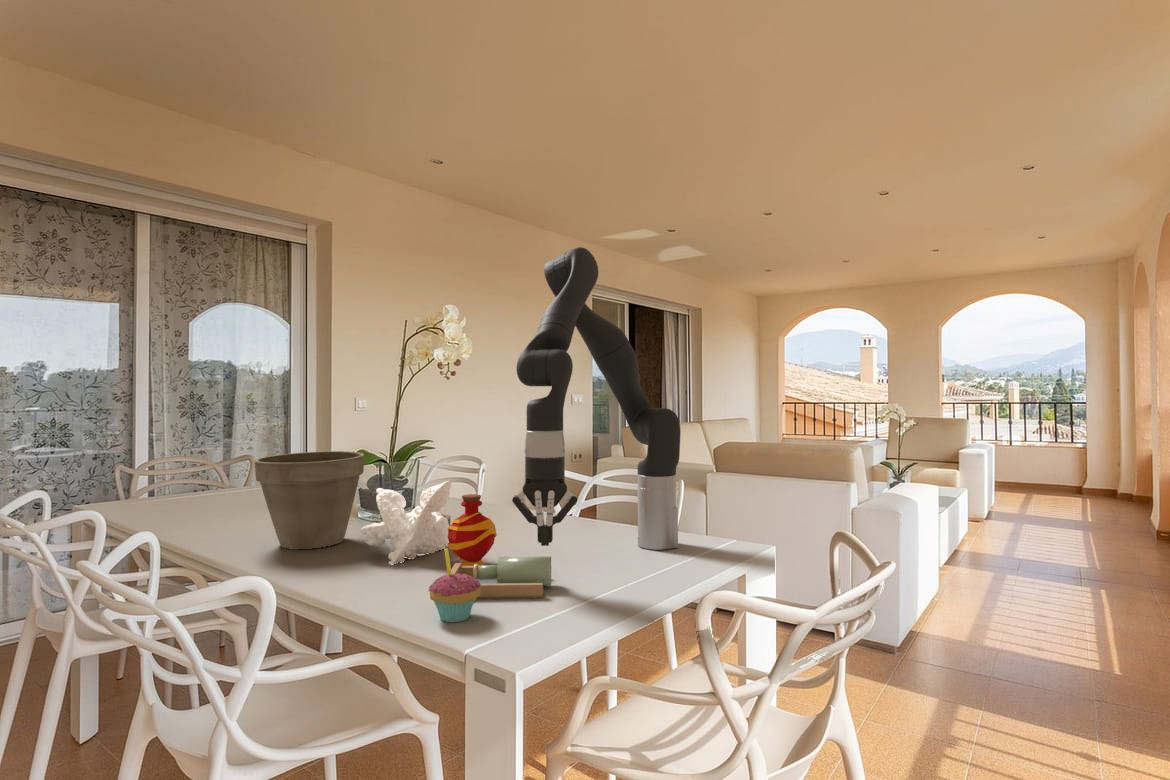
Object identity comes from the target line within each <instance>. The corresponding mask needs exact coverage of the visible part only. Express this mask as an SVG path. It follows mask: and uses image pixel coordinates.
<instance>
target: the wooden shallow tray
mask: <svg viewBox="0 0 1170 780" xmlns="http://www.w3.org/2000/svg"><path fill="white" fill-rule="evenodd" d="M461 563H462V562H455V563H454V564H453V566H451V567H452V568H451V573H452V574H461V573H462V574H467V575H469V576H472V577H473V569H474V566H461ZM478 581H479V582H480V584H481V588H482V592H481V594H480V595H479V596H478V597H477V598H476V599H475V600H480V599H481V600H488V599H490V600H493V599H502V600H503V599H506V600H507V599H543V596H544V589H545V586H543V583H497V578H478Z"/></svg>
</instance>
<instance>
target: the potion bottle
mask: <svg viewBox="0 0 1170 780" xmlns="http://www.w3.org/2000/svg"><path fill="white" fill-rule="evenodd" d="M461 497H462V502H461V503H460V506H461V507H464V513H463V514H461V515H460V516H459V517H457V518H454V519H453V520H452V521H451V523H450V526H449V527H448V544H447V548H448V551H449V550H450V551H451V550H452V551H453V553H454V555H455V556H456V557H457V559H460V560H461V562H460V563H461V566H474V564H478V565H485V563H484V562H483V561H482V559H483V558H484V557H485V556H486V555H487V554H488V553H489V551H491V549H492V547H493V546H494V543H495V538H496V537H497V535H498V534H497V529H496V525H495V523H494V522H493V520H492V519H491V517H487V516H485V515H483V513H482V512H480V511H479V507H480V506H482V504H483V501H482V500H481V499H482V495H481V494H478V493H477V494H476V493H474V494H473V493H469V494H463V495H462V496H461Z"/></svg>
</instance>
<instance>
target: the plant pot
mask: <svg viewBox="0 0 1170 780" xmlns="http://www.w3.org/2000/svg"><path fill="white" fill-rule="evenodd" d="M253 463H254V471H255V473H254V475H255V480H256V481H257V482H259V483H260V488H261V490H262V493H263V497H264V500H265V503H266V506H267V509H268V513H269V515H270V518H271V522H272V526H273V529H274V531H275V534H276V537H277V540H278V542H279V544H280V547H282V548H283V547H285V548H284V549H286V548H291V549H290V550H297V549H306V550H311V549H310V548H316V549H322V548H321V547H323V548H327V547H326V546H328V547H331V545H332V546H335V545H338V544H340V543H342V542H343V541H344V539H345V537H346V533H347V529H348V524H349V521H350V517H351V513H352V510H353V504H354V501H355V497H356V493H357V488H358V486H359V480H360V476H361V475H363V473H364V471H365V469H364V468H365V454H364V453H362V452H359V451H357V452H356V451H347V450H346V451H345V450H344V451H343V450H342V451H341V450H337V451H336V450H329V451H328V450H327V451H326V450H325V451H324V450H323V451H307V452H306V451H305V452H293V453H292V452H291V453H282V454H275V455H266V456H263V457H259V458H255V460H254V462H253ZM334 544H335V545H334Z"/></svg>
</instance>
